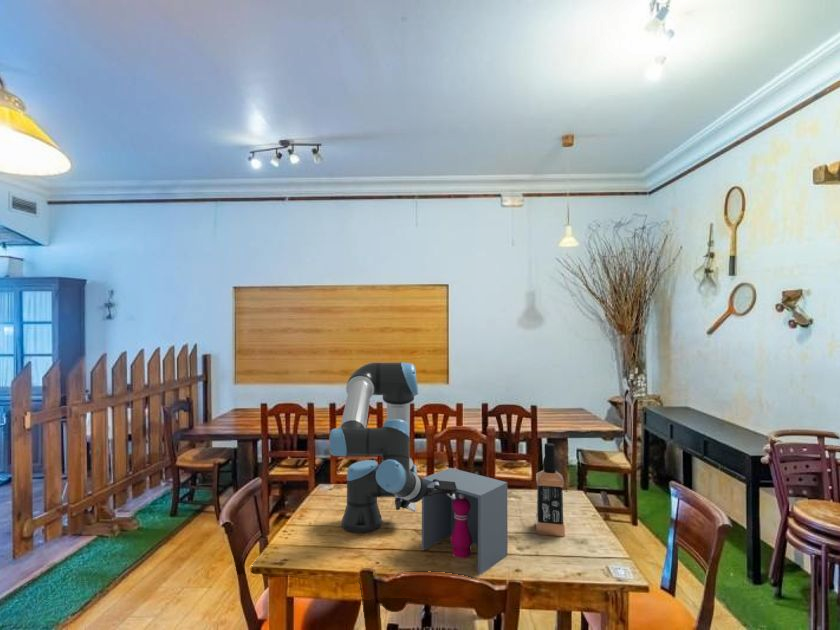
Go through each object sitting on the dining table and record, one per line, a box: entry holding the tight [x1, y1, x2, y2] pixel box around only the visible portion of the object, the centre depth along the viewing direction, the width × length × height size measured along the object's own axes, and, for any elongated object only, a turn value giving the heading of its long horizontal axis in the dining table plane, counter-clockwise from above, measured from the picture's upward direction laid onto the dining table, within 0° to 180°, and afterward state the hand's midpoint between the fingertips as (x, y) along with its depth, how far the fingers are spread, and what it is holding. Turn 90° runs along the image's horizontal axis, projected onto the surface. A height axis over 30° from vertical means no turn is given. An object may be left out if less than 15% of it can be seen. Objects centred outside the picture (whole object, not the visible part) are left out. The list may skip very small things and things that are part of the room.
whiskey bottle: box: [535, 442, 566, 537], centre depth 171 cm, size 10×10×32 cm
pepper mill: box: [450, 493, 472, 559], centre depth 152 cm, size 7×7×20 cm
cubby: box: [421, 467, 508, 575], centre depth 154 cm, size 24×16×24 cm, turn 49°
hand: (433, 501), depth 146 cm, fingers open, 13 cm apart
